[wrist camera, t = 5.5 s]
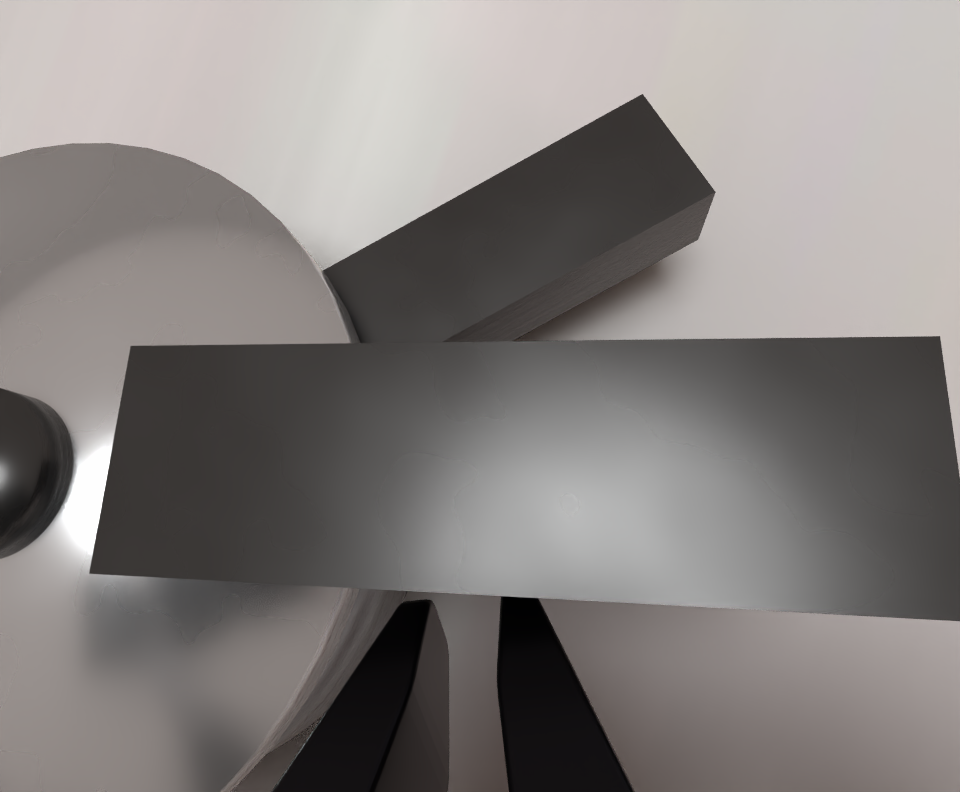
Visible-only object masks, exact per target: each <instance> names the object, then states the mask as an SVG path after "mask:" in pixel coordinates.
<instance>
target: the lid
mask: <svg viewBox="0 0 960 792" xmlns="http://www.w3.org/2000/svg"><path fill="white" fill-rule="evenodd" d="M359 588H360V589H378V590H397V591H415V592H434V593H452V594H471V595H489V596H507V597H526V598H544V599H563V600H581V601H600V602H618V603H636V604H655V605H673V606H692V607H710V608H729V609H747V610H765V611H784V612H802V613H821V614H839V615H858V616H876V617H894V618H913V619H931V620H950V621H960V477H959V470H958V462H957V455H956V448H955V441H954V434H953V427H952V420H951V412H950V405H949V398H948V391H947V384H946V377H945V370H944V362H943V355H942V348H941V341H940V336H933V337H847V338H760V339H674V340H588V341H501V342H415V343H360V340H359V338H358V335H357V333H356V330H355V328H354V326H353V323H352V321H351V318H350V316H349V313H348V311H347V309H346V307H345V306H344V304H343V302H342V301H341V299H340V297H339V295H338V294H337V292H336V290H335V289H334V287H333V285H332V284H331V282H330V280H329V278H328V277H327V275H326V274H325V273H324V272H323V270H322V269H321V268H320V267H319V265H318V264H317V263H316V262H315V260H314V259H313V258H312V257H311V256H310V254H309V253H308V252H307V251H306V249H305V248H304V247H303V246H302V245H301V243H300V242H299V241H298V240H297V239H296V238H295V237H294V236H293V235H292V234H291V232H290V231H289V230H288V229H287V228H286V227H285V226H284V225H283V224H282V222H281V221H280V220H278V219H277V218H276V217H275V216H274V215H273V214H272V213H271V212H270V211H268V210H267V209H266V208H265V207H264V206H263V205H262V204H261V203H260V202H258V201H257V200H256V199H255V198H254V197H253V196H252V195H250V194H249V193H247V192H246V191H244V190H243V189H241V188H240V187H238V186H237V185H235V184H234V183H232V182H230V181H229V180H227V179H226V178H224V177H223V176H221V175H220V174H218V173H216V172H213V171H211V170H209V169H207V168H204V167H202V166H200V165H198V164H196V163H193V162H191V161H189V160H187V159H184V158H181V157H177V156H174V155H170V154H167V153H163V152H160V151H156V150H152V149H149V148H142V147H134V146H127V145H119V144H111V143H92V144H66V145H58V146H51V147H43V148H36V149H31V150H27V151H23V152H20V153H16V154H12V155H8V156H4V157H0V792H230V791H231V790H232V789H233V788H235V787H236V786H237V785H238V784H239V783H240V782H241V781H242V780H243V779H244V778H245V776H246V775H247V774H248V773H249V772H250V771H251V770H252V769H253V768H254V767H255V766H256V765H257V763H258V762H259V761H260V760H261V759H262V758H263V757H264V756H265V755H266V754H267V753H268V751H269V750H270V749H271V748H272V747H273V746H274V745H275V744H276V743H277V741H278V740H279V739H280V737H281V736H282V734H283V733H284V732H285V730H286V729H287V727H288V726H289V725H290V723H291V722H292V720H293V719H294V718H295V716H296V715H297V713H298V712H299V711H300V709H301V708H302V706H303V705H304V704H305V702H306V701H307V699H308V698H309V697H310V695H311V693H312V691H313V689H314V687H315V686H316V684H317V682H318V680H319V678H320V677H321V675H322V673H323V671H324V669H325V667H326V666H327V664H328V662H329V660H330V658H331V656H332V655H333V653H334V651H335V649H336V647H337V645H338V643H339V640H340V638H341V635H342V633H343V630H344V628H345V625H346V623H347V620H348V618H349V615H350V613H351V610H352V608H353V605H354V603H355V600H356V598H357V595H358V592H359Z"/></svg>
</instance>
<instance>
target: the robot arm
mask: <svg viewBox="0 0 960 792" xmlns="http://www.w3.org/2000/svg"><path fill="white" fill-rule="evenodd" d="M497 689H498V701H499V709H500V718H501V726H502V735H503V744H504V752H505V761H506V770H507V778H508V787H509V792H635V791H634V789H633V787H632V785H631V783H630V781H629V779H628V777H627V775H626V773H625V771H624V769H623V767H622V765H621V763H620V761H619V759H618V757H617V755H616V753H615V751H614V749H613V747H612V745H611V743H610V741H609V739H608V737H607V735H606V733H605V731H604V729H603V727H602V725H601V723H600V721H599V719H598V717H597V715H596V713H595V711H594V709H593V707H592V705H591V703H590V701H589V699H588V697H587V695H586V693H585V691H584V689H583V687H582V685H581V683H580V681H579V679H578V677H577V675H576V673H575V671H574V669H573V667H572V665H571V663H570V661H569V659H568V657H567V655H566V653H565V651H564V649H563V647H562V645H561V643H560V641H559V639H558V637H557V635H556V633H555V631H554V629H553V627H552V625H551V623H550V621H549V619H548V617H547V615H546V613H545V611H544V609H543V607H542V605H541V603H540V601H539V599H538V598H526V597H507V596H501V606H500V624H499V642H498V659H497ZM448 781H449V652H448V644H447V640H446V637H445V634H444V631H443V628H442V625H441V622H440V619H439V616H438V613H437V610H436V607H435V605H434V603H433V602H432V601H431V600H428V599H424V600H415V601H407V602H403V603H401V604H400V605H399V606H398V607H397V608H396V610H395V611H394V613H393V614H392V616H391V617H390V619H389V620H388V622H387V623H386V625H385V626H384V627H383V629H382V630H381V632H380V633H379V635H378V636H377V638H376V639H375V641H374V642H373V644H372V645H371V647H370V648H369V649H368V651H367V652H366V654H365V655H364V657H363V658H362V660H361V661H360V663H359V664H358V666H357V667H356V669H355V670H354V671H353V673H352V674H351V676H350V677H349V679H348V680H347V682H346V683H345V685H344V686H343V688H342V689H341V691H340V692H339V693H338V695H337V696H336V698H335V699H334V701H333V702H332V704H331V705H330V707H329V708H328V710H327V711H326V713H325V714H324V715H323V717H322V718H321V720H320V721H319V723H318V724H317V726H316V727H315V729H314V730H313V732H312V733H311V734H310V736H309V737H308V739H307V740H306V742H305V743H304V745H303V746H302V748H301V749H300V751H299V752H298V754H297V755H296V756H295V758H294V759H293V761H292V762H291V764H290V765H289V767H288V768H287V770H286V771H285V773H284V774H283V776H282V777H281V778H280V780H279V781H278V783H277V784H276V786H275V787H274V789H273V790H272V792H448Z"/></svg>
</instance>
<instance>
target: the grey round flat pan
mask: <svg viewBox="0 0 960 792" xmlns="http://www.w3.org/2000/svg"><path fill="white" fill-rule="evenodd" d="M714 195H715V191H714V189H713V188H712V187H711V185H710V184H709V183H708V181H707V180H706V179H705V177H704V176H703V175H702V173H701V172H700V171H699V169H698V168H697V167H696V165H695V164H694V163H693V161H692V160H691V158H690V157H689V156H688V154H687V153H686V152H685V150H684V149H683V148H682V146H681V145H680V144H679V142H678V141H677V140H676V138H675V137H674V136H673V134H672V133H671V132H670V130H669V129H668V128H667V126H666V125H665V124H664V122H663V121H662V120H661V118H660V117H659V116H658V114H657V113H656V111H655V110H654V109H653V107H652V106H651V105H650V103H649V102H648V101H647V99H646V98H645V97H644V95H643V94H642V95H640V96H638V97H636V98H634V99H633V100H631V101H629V102H627V103H625V104H624V105H622V106H620V107H618V108H616V109H614V110H613V111H611V112H609V113H607V114H605V115H604V116H602V117H600V118H598V119H596V120H595V121H593V122H591V123H589V124H587V125H586V126H584V127H582V128H580V129H578V130H577V131H575V132H573V133H571V134H569V135H567V136H566V137H564V138H562V139H560V140H558V141H557V142H555V143H553V144H551V145H549V146H548V147H546V148H544V149H542V150H540V151H539V152H537V153H535V154H533V155H531V156H530V157H528V158H526V159H524V160H522V161H520V162H519V163H517V164H515V165H513V166H511V167H510V168H508V169H506V170H504V171H502V172H501V173H499V174H497V175H495V176H493V177H492V178H490V179H488V180H486V181H484V182H483V183H481V184H479V185H477V186H475V187H473V188H472V189H470V190H468V191H466V192H464V193H463V194H461V195H459V196H457V197H455V198H454V199H452V200H450V201H448V202H446V203H445V204H443V205H441V206H439V207H437V208H436V209H434V210H432V211H430V212H428V213H426V214H425V215H423V216H421V217H419V218H417V219H416V220H414V221H412V222H410V223H408V224H407V225H405V226H403V227H401V228H399V229H398V230H396V231H394V232H392V233H390V234H388V235H387V236H385V237H383V238H381V239H379V240H378V241H376V242H374V243H372V244H370V245H369V246H367V247H365V248H363V249H361V250H360V251H358V252H356V253H354V254H352V255H351V256H349V257H347V258H345V259H343V260H341V261H340V262H338V263H336V264H334V265H332V266H331V267H329V268H327V269H325V270H323V272H324V273H325V274H326V275H327V277H328V278H329V280H330V282H331V284H332V285H333V287H334V289H335V290H336V292H337V294H338V295H339V297H340V299H341V301H342V302H343V304H344V306H345V307H346V309H347V311H348V313H349V316H350V318H351V321H352V323H353V326H354V328H355V330H356V333H357V335H358V338H359V340H360V343H415V342H501V341H513V340H515V339H517V338H519V337H520V336H522V335H524V334H526V333H528V332H530V331H531V330H533V329H535V328H537V327H539V326H541V325H542V324H544V323H546V322H548V321H550V320H552V319H553V318H555V317H557V316H559V315H561V314H563V313H564V312H566V311H568V310H570V309H572V308H574V307H575V306H577V305H579V304H581V303H583V302H585V301H586V300H588V299H590V298H592V297H594V296H596V295H597V294H599V293H601V292H603V291H605V290H607V289H608V288H610V287H612V286H614V285H616V284H618V283H619V282H621V281H623V280H625V279H627V278H629V277H630V276H632V275H634V274H636V273H638V272H640V271H641V270H643V269H645V268H647V267H649V266H651V265H652V264H654V263H656V262H658V261H660V260H662V259H663V258H665V257H667V256H669V255H671V254H673V253H674V252H676V251H678V250H680V249H682V248H683V247H685V246H687V245H689V244H691V243H693V242H694V241H696V240H698V238H699V236H700V233H701V230H702V227H703V225H704V222H705V219H706V217H707V214H708V211H709V208H710V206H711V203H712V200H713V197H714ZM406 592H407V591H397V590H378V589H360V588H359V592H358V595H357V598H356V600H355V603H354V605H353V608H352V610H351V613H350V615H349V618H348V620H347V623H346V625H345V628H344V630H343V633H342V635H341V638H340V640H339V643H338V645H337V647H336V649H335V651H334V653H333V655H332V656H331V658H330V660H329V662H328V664H327V666H326V667H325V669H324V671H323V673H322V675H321V677H320V678H319V680H318V682H317V684H316V686H315V687H314V689H313V691H312V693H311V695H310V697H309V698H308V699H307V701H306V702H305V704H304V705H303V706H302V708H301V709H300V711H299V712H298V713H297V715H296V716H295V718H294V719H293V720H292V722H291V723H290V725H289V726H288V727H287V729H286V730H285V732H284V733H283V734H282V736H281V737H280V739H279V740H278V741H277V743H276V744H275V745H274V746H273V747H272V748H271V749H270V750H269V751H268V753H270V752H272V751H273V750H275V749H276V748H278V747H279V746H281V745H283V744H284V743H286V742H287V741H289V740H290V739H292V738H294V737H295V736H297V735H298V734H300V733H302V732H303V731H304V730H305V729H307V728H308V727H309V726H310V725H311V724H313V723H314V722H315V721H316V720H317V719H319V718H320V717H321V716H322V715H323V714H325V713H326V711H327V710H328V708H329V707H330V705H331V704H332V702H333V701H334V699H335V698H336V696H337V695H338V693H339V692H340V691H341V689H342V688H343V686H344V685H345V683H346V682H347V680H348V679H349V677H350V676H351V674H352V673H353V671H354V670H355V669H356V667H357V666H358V664H359V663H360V661H361V660H362V658H363V657H364V655H365V654H366V652H367V651H368V649H369V648H370V647H371V645H372V644H373V642H374V641H375V639H376V638H377V636H378V635H379V633H380V632H381V630H382V629H383V627H384V626H385V625H386V623H387V622H388V620H389V619H390V617H391V616H392V614H393V613H394V611H395V610H396V608H397V607H398V606H399V605H400V604H401V603H402V602H403V599H404V597H405V594H406ZM268 753H267V754H268ZM267 754H266V755H267Z"/></svg>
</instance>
